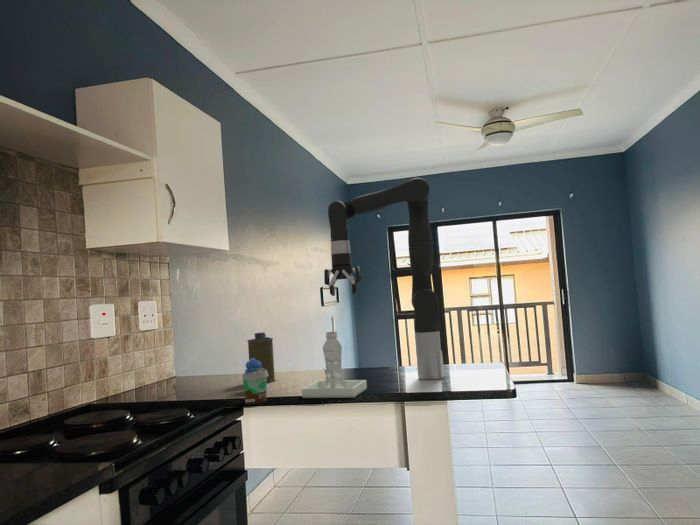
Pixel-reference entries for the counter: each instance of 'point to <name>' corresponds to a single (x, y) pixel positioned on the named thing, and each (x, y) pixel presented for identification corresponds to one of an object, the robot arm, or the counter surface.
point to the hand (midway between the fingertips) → (343, 295)
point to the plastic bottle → (333, 361)
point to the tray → (334, 390)
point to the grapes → (253, 366)
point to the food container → (255, 386)
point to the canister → (263, 353)
